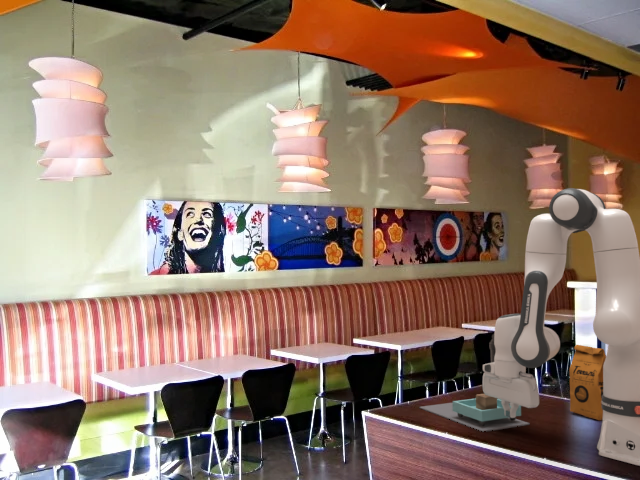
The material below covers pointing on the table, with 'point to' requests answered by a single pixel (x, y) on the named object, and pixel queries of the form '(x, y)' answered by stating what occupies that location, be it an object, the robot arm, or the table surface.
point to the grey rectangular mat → (490, 425)
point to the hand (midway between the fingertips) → (510, 416)
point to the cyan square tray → (481, 411)
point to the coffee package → (587, 381)
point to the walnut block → (485, 402)
